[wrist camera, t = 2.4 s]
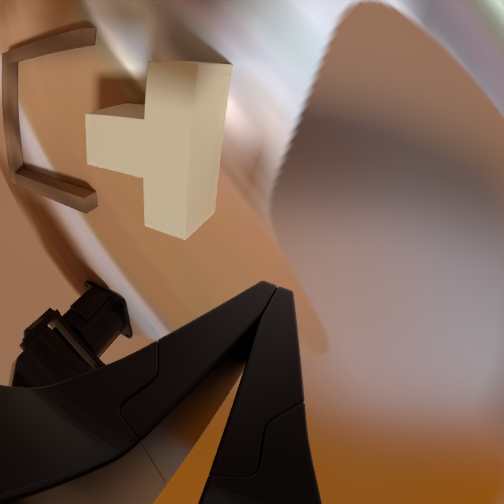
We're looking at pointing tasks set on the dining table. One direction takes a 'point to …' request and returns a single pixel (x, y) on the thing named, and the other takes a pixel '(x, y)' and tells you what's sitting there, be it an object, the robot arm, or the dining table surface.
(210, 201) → the T block
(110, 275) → the dining table surface
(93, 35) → the frame
